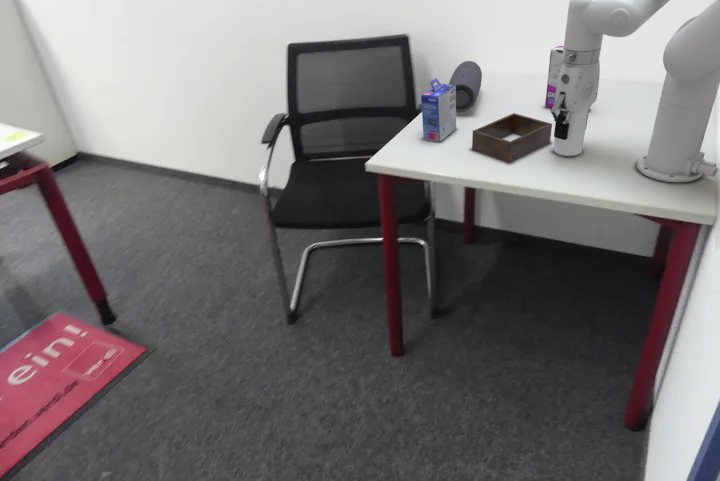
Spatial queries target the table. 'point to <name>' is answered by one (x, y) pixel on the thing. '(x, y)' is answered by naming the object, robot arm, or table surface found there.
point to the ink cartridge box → (439, 111)
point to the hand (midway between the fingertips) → (569, 132)
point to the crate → (508, 151)
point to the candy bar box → (553, 75)
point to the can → (572, 134)
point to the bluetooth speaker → (466, 85)
